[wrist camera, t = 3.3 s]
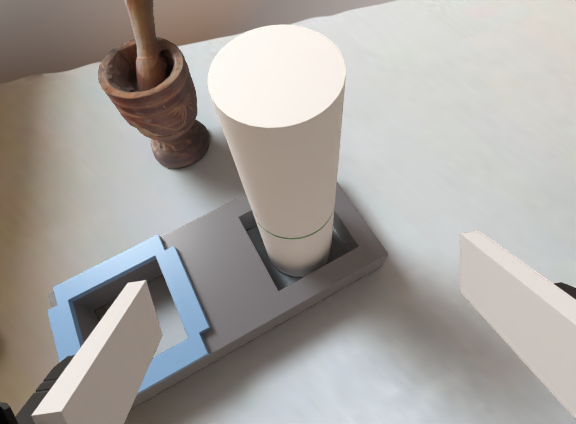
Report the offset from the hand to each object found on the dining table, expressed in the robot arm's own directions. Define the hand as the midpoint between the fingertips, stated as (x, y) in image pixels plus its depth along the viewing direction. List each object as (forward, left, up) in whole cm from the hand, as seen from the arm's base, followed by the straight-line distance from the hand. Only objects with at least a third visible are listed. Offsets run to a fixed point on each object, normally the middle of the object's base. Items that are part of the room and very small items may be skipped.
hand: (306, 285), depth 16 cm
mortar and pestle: (+27, -16, -24) cm, 40 cm away
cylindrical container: (+6, -9, -24) cm, 26 cm away
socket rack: (+11, -1, -24) cm, 26 cm away
